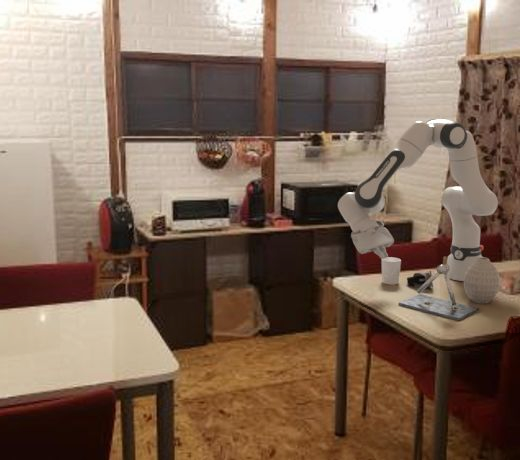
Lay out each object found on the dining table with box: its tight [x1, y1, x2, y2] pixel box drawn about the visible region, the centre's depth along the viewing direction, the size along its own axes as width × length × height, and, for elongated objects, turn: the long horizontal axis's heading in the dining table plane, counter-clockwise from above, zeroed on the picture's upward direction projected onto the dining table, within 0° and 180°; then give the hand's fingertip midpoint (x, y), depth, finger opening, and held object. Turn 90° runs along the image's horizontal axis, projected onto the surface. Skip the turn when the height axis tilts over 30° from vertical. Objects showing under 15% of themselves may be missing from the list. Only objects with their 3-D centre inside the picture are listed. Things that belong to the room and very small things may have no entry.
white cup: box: [381, 256, 402, 286], centre depth 252 cm, size 8×8×10 cm
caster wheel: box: [406, 270, 434, 289], centre depth 248 cm, size 7×11×10 cm
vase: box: [463, 256, 501, 304], centre depth 227 cm, size 13×13×17 cm
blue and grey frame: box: [398, 256, 480, 322], centre depth 219 cm, size 15×24×19 cm, turn 45°
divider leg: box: [416, 264, 447, 295], centre depth 220 cm, size 2×3×15 cm
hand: (385, 257), depth 233 cm, fingers closed
